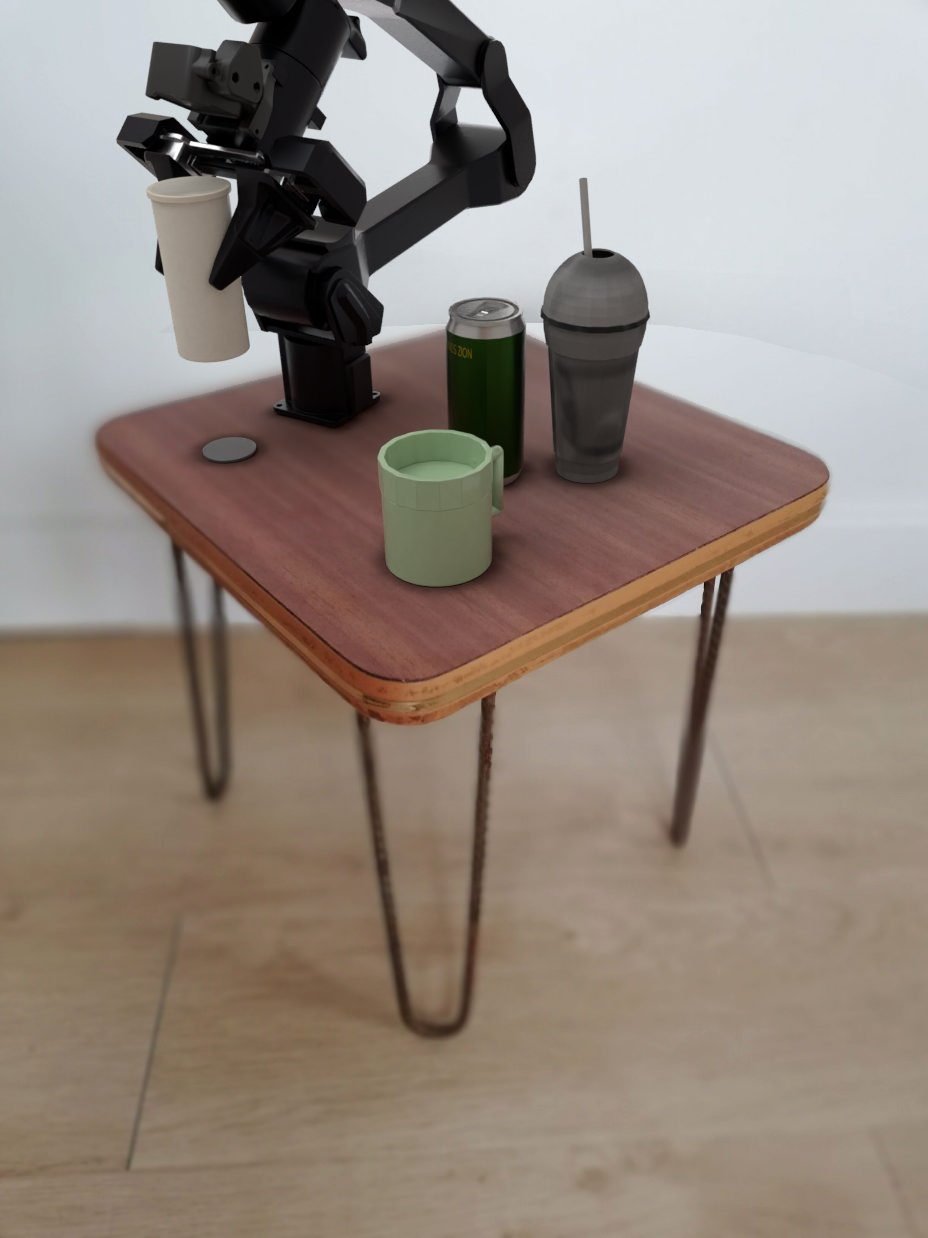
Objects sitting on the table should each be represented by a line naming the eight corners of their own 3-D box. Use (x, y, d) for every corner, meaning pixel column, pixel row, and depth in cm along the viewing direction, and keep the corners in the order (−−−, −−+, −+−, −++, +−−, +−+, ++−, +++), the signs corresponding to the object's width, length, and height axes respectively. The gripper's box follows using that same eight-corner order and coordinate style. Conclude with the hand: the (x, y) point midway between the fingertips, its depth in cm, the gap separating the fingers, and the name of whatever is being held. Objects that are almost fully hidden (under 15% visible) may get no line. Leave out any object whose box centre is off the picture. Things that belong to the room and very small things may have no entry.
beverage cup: (633, 496, 75) (658, 195, 64) (529, 487, 77) (535, 191, 65) (640, 450, 81) (664, 166, 70) (543, 442, 82) (551, 163, 71)
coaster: (191, 455, 82) (191, 453, 81) (226, 435, 84) (226, 432, 84) (233, 467, 80) (232, 464, 80) (267, 446, 83) (266, 443, 83)
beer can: (496, 497, 75) (496, 329, 69) (434, 477, 78) (428, 313, 71) (537, 467, 79) (542, 305, 72) (477, 449, 82) (475, 290, 75)
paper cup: (182, 336, 79) (155, 176, 72) (257, 334, 79) (236, 174, 73) (168, 364, 74) (137, 197, 68) (247, 362, 74) (223, 195, 68)
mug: (428, 600, 65) (424, 492, 61) (364, 554, 70) (356, 451, 65) (536, 550, 70) (538, 447, 65) (468, 511, 74) (467, 411, 70)
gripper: (109, -22, 71) (7, 190, 70) (320, -9, 62) (205, 235, 61) (217, 91, 81) (128, 279, 80) (412, 116, 72) (315, 329, 71)
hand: (187, 279), depth 73 cm, fingers closed on paper cup, 5 cm apart
